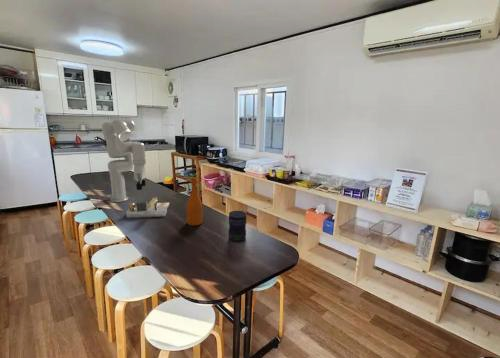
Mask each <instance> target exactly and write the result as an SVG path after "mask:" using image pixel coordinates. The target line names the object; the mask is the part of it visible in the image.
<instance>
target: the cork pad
mask: <svg viewBox="0 0 500 358" xmlns="http://www.w3.org/2000/svg"><path fill="white" fill-rule="evenodd" d="M157 206H167V209H168V208H169V206H170V202H157ZM153 207H154V205H153Z"/></svg>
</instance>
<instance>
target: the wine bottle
mask: <svg viewBox="0 0 500 358" xmlns="http://www.w3.org/2000/svg"><path fill="white" fill-rule="evenodd" d="M197 179H198V178H197V177H196V176H192V177H191V178H190V180H191V181H190V182H191V183H190V184H191V191H190V195H189V197H188V199H187V203H186V207H185V208H186V222H187V225H188V226H192V227H194V226H199V225H202V223H203V214H204V213H203V212H204V211H203V203H202V200H201V198H200V196H199V194H198V189H197V184H198V181H197Z"/></svg>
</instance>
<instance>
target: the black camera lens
mask: <svg viewBox="0 0 500 358" xmlns="http://www.w3.org/2000/svg"><path fill="white" fill-rule="evenodd" d="M246 227H247V212H245V211H242V210H232V211H229V213H228V241H229V242H230V243H233V242H234V244H240V243H244V242H245V241H247V240H246V239H247V238H246V237H247V228H246Z"/></svg>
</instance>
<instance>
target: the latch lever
mask: <svg viewBox="0 0 500 358" xmlns="http://www.w3.org/2000/svg"><path fill="white" fill-rule="evenodd" d="M156 202H157V203H158V197H157V196H153V197H152V199H151V200H150V201H149V202H148V208H152V207H153V205H154V204H155V203H156Z"/></svg>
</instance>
